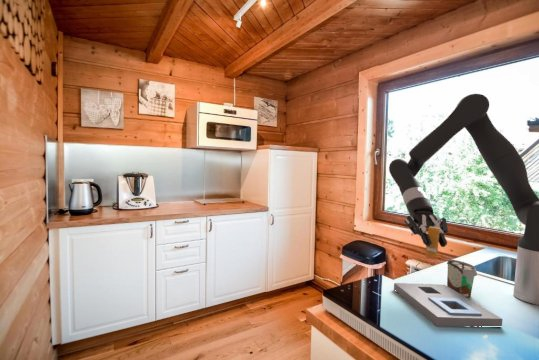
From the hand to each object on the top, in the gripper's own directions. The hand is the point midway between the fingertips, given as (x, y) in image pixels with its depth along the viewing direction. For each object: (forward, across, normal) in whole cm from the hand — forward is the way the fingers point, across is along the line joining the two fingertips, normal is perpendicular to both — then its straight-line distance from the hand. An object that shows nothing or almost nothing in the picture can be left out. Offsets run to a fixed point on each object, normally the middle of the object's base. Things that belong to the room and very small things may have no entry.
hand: (436, 245), depth 87 cm
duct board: (+15, 0, +10) cm, 18 cm away
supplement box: (+2, 0, +5) cm, 5 cm away
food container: (+9, +15, +17) cm, 24 cm away
